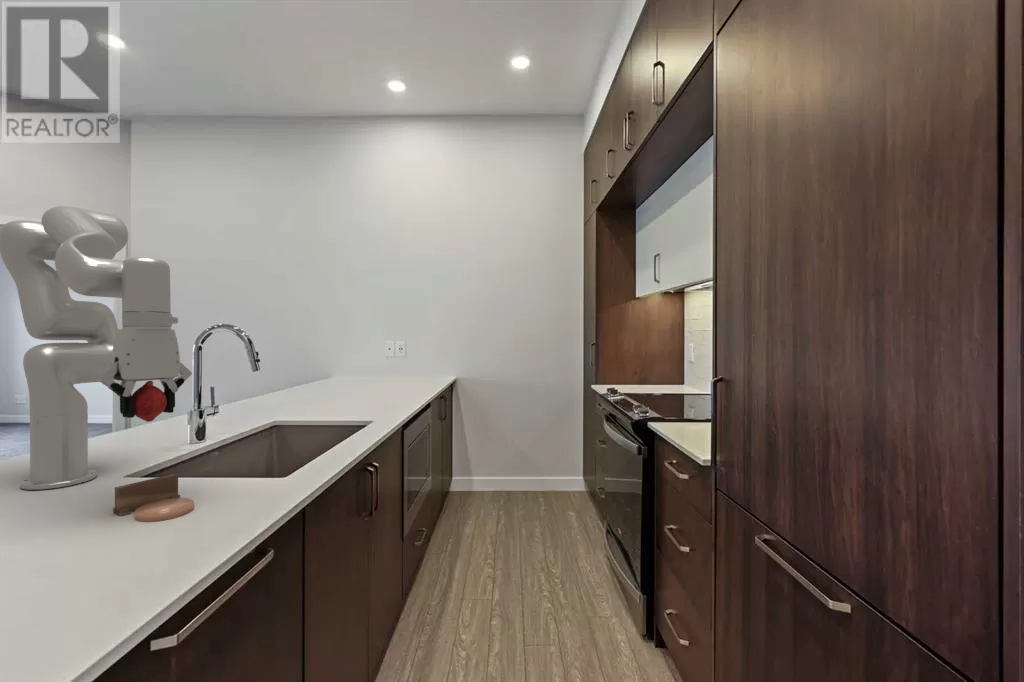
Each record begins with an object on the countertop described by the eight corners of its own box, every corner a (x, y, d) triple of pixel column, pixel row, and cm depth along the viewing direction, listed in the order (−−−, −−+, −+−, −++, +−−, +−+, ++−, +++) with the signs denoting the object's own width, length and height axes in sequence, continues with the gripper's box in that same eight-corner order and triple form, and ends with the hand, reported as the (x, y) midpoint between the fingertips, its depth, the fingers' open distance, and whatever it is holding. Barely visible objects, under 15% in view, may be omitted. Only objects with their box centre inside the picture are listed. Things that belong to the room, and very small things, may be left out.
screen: (113, 513, 89) (113, 486, 89) (172, 497, 98) (172, 473, 98) (120, 516, 88) (120, 489, 88) (180, 499, 96) (179, 475, 96)
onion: (146, 424, 89) (146, 382, 89) (121, 424, 90) (121, 382, 90) (174, 419, 95) (173, 379, 95) (150, 419, 96) (150, 379, 96)
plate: (125, 515, 88) (125, 509, 88) (178, 501, 96) (178, 495, 96) (150, 525, 84) (149, 518, 84) (203, 509, 91) (203, 502, 91)
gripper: (184, 323, 102) (186, 407, 102) (82, 321, 87) (83, 420, 87) (204, 322, 98) (205, 409, 98) (101, 320, 83) (102, 423, 83)
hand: (148, 413), depth 92 cm, fingers closed on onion, 5 cm apart
